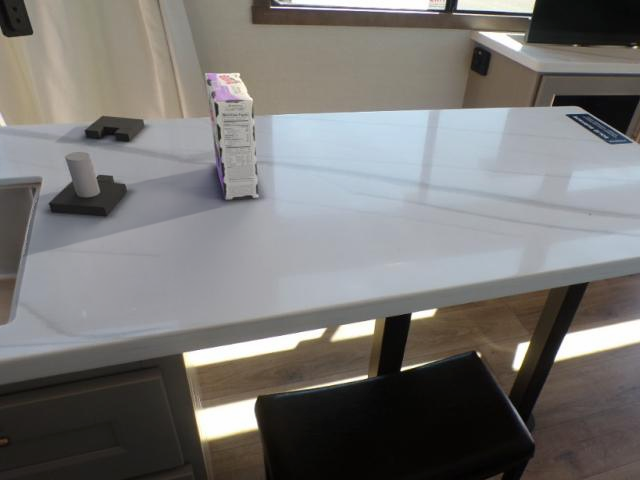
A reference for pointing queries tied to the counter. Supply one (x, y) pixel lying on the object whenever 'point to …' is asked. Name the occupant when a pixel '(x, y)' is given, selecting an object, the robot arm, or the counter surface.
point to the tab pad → (90, 203)
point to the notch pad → (115, 128)
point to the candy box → (233, 134)
